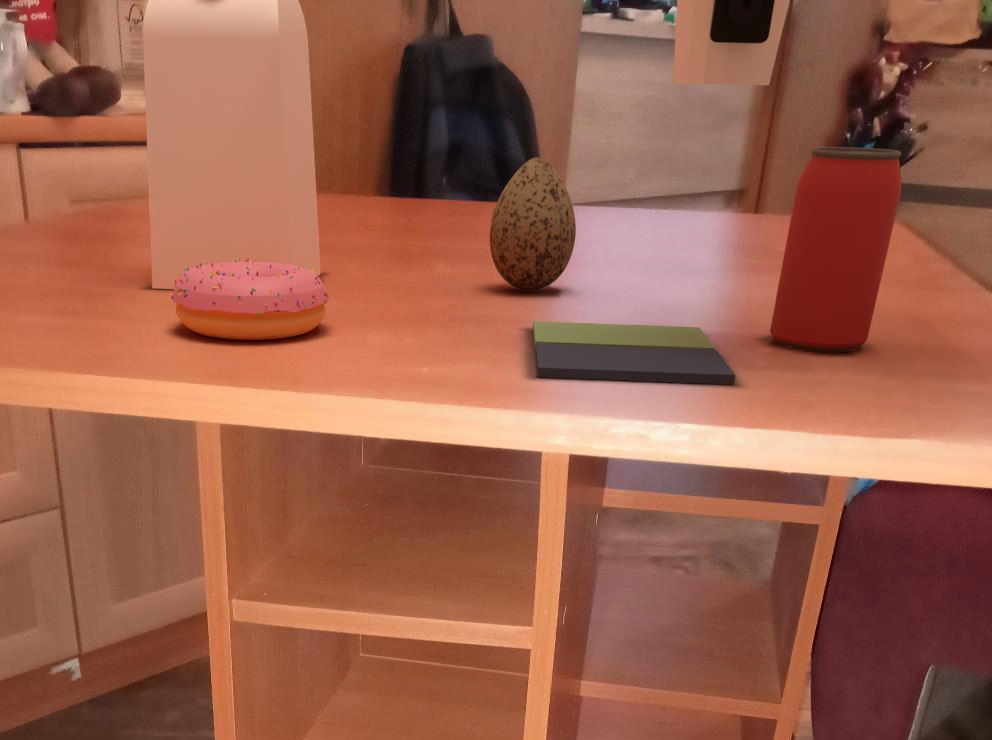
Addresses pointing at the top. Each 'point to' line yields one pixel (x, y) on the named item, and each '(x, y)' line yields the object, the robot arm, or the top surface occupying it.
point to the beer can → (836, 248)
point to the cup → (722, 49)
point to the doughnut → (250, 300)
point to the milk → (228, 135)
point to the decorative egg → (533, 227)
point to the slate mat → (632, 364)
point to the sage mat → (620, 335)
